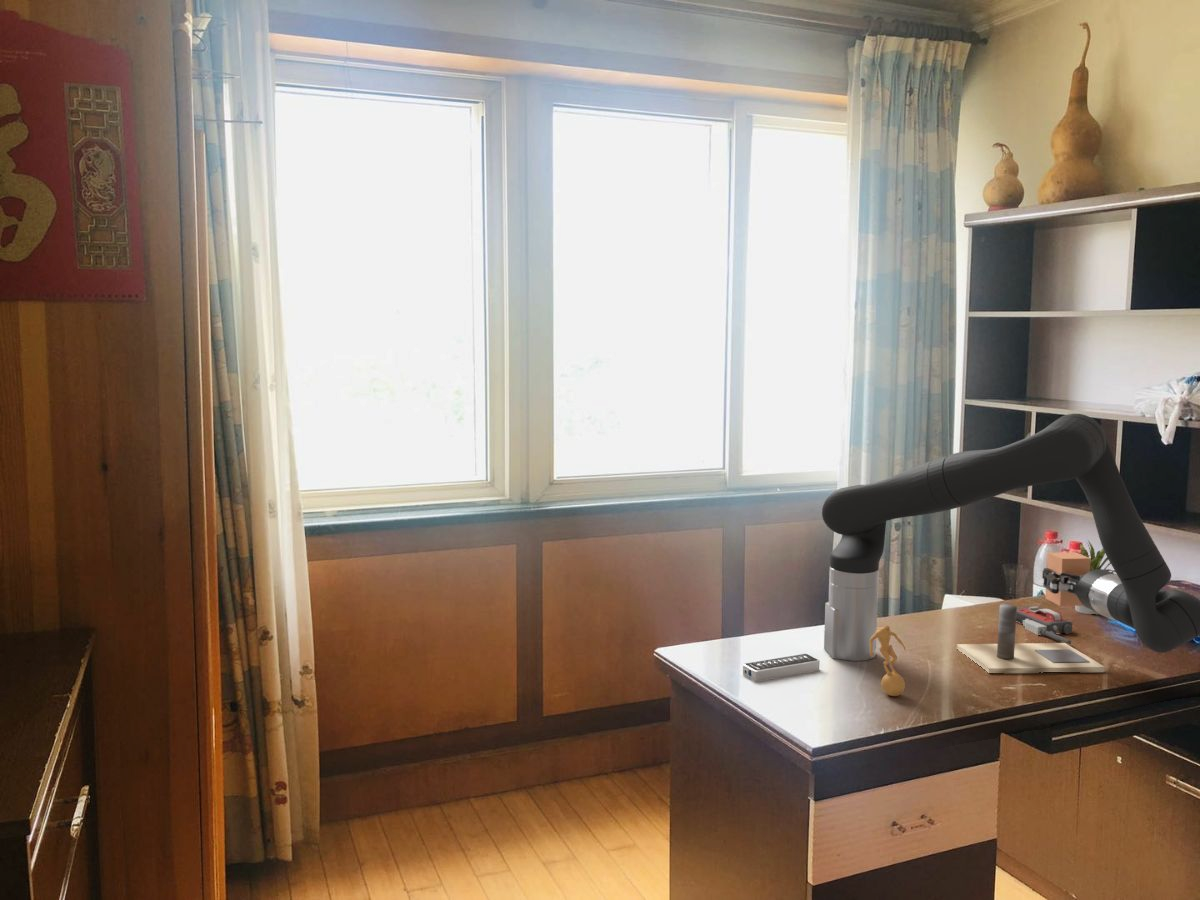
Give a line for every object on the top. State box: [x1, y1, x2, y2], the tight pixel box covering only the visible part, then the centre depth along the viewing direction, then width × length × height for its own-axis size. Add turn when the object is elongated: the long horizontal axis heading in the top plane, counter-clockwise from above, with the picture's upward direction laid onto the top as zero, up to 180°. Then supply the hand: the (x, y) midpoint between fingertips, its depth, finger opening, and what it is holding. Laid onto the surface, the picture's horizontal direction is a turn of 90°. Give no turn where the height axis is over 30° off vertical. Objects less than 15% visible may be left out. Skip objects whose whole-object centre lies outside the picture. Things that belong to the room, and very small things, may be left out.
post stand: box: [956, 603, 1106, 674], centre depth 181 cm, size 22×14×11 cm, turn 93°
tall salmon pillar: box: [1045, 551, 1091, 607], centre depth 179 cm, size 5×5×9 cm
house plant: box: [1058, 540, 1116, 615], centre depth 213 cm, size 14×14×16 cm
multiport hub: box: [742, 653, 820, 682], centre depth 175 cm, size 4×14×2 cm, turn 115°
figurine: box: [869, 625, 906, 697], centre depth 164 cm, size 8×6×12 cm
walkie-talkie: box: [1016, 606, 1073, 645], centre depth 200 cm, size 9×4×20 cm
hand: (1060, 573), depth 182 cm, fingers closed on tall salmon pillar, 5 cm apart
